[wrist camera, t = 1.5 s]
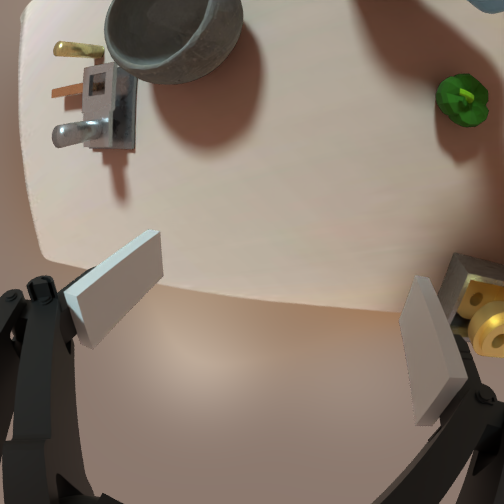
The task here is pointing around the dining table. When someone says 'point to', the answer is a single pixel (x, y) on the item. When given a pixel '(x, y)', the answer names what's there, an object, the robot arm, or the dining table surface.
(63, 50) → the gold rounded cylinder
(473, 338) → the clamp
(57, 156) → the dining table surface
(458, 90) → the bell pepper
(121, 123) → the grey lever block
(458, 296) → the grey open-top box
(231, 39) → the bowl
